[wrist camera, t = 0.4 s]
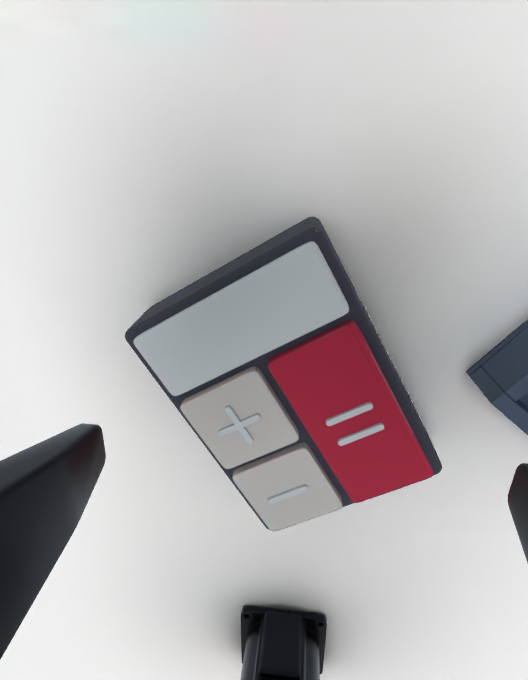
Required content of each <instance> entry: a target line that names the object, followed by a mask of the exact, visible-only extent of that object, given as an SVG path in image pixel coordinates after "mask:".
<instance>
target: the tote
mask: <svg viewBox="0 0 528 680" xmlns="http://www.w3.org/2000/svg"><path fill="white" fill-rule="evenodd" d="M467 374H468V375H469V376H470V377H471V378H472V380H473V381H474V382H475V384H476V385H477V386H478V387H479V389H480V390H481V391H482V392H483V394H484V395H485V396H486V397H487V399H488V400H489V401H490V403H491V404H492V405H494V406H495V407H496V408H497V409H498V410H499V411H501V412H502V413H503V414H504V415H505V416H506V417H508V418H509V419H510V420H511V421H512V422H513V423H515V424H516V425H517V426H518V427H519V428H520V429H521V430H523V431H524V432H525V433H526V434H527V435H528V320H527V321H526V322H525V323H524V324H522V325H521V326H520V327H519V328H518V329H517V330H515V331H514V332H513V333H512V334H511V335H509V336H508V337H507V338H506V339H505V340H504V341H502V342H501V343H500V344H499V345H498V346H496V347H495V348H494V349H493V350H492V351H490V352H489V353H488V354H487V355H486V356H485V357H483V358H482V359H481V360H480V361H479V362H477V363H476V364H475V365H474V366H473V367H472V368H470V369H469V370H468V371H467Z"/></svg>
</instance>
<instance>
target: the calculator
mask: <svg viewBox="0 0 528 680" xmlns="http://www.w3.org/2000/svg"><path fill="white" fill-rule="evenodd" d="M125 338H126V340H127V342H128V343H129V345H130V346H131V347H132V349H133V350H134V351H135V353H136V354H137V355H138V357H139V358H140V359H141V361H142V362H143V363H144V365H145V366H146V368H147V369H148V370H149V372H150V373H151V374H152V376H153V377H154V378H155V380H156V381H157V382H158V384H159V385H160V386H161V388H162V389H163V390H164V392H165V393H166V394H167V396H168V397H169V398H170V400H171V401H172V402H173V404H174V405H175V406H176V408H177V409H178V410H179V412H180V413H181V414H182V416H183V417H184V418H185V420H186V421H187V422H188V424H189V425H190V426H191V428H192V429H193V430H194V432H195V433H196V434H197V436H198V437H199V439H200V440H201V441H202V443H203V444H204V445H205V447H206V448H207V449H208V451H209V452H210V453H211V455H212V456H213V457H214V459H215V460H216V461H217V463H218V464H219V465H220V467H221V468H222V469H223V471H224V472H225V473H226V475H227V476H228V477H229V479H230V480H231V481H232V483H233V484H234V485H235V487H236V488H237V489H238V491H239V492H240V493H241V495H242V496H243V497H244V499H245V500H246V501H247V503H248V504H249V505H250V507H251V508H252V509H253V511H254V512H255V514H256V515H257V516H258V518H259V519H260V520H261V522H262V523H263V524H264V526H265V527H266V528H267V529H269V530H271V531H278V530H281V529H284V528H287V527H290V526H293V525H296V524H298V523H301V522H304V521H307V520H310V519H313V518H316V517H319V516H321V515H324V514H327V513H330V512H333V511H336V510H338V509H340V508H342V507H344V506H346V505H349V504H352V503H358V502H362V501H365V500H367V499H370V498H373V497H376V496H379V495H382V494H385V493H388V492H391V491H393V490H396V489H399V488H402V487H405V486H408V485H411V484H414V483H416V482H419V481H422V480H425V479H428V478H430V477H432V476H433V475H435V474H438V473H439V472H440V471H441V469H442V465H441V462H440V460H439V458H438V455H437V453H436V451H435V449H434V447H433V444H432V442H431V440H430V438H429V436H428V434H427V432H426V430H425V428H424V426H423V424H422V422H421V420H420V418H419V416H418V414H417V412H416V410H415V408H414V406H413V404H412V402H411V400H410V398H409V396H408V394H407V392H406V390H405V388H404V386H403V384H402V382H401V380H400V378H399V376H398V374H397V372H396V370H395V368H394V366H393V364H392V363H391V361H390V359H389V357H388V355H387V353H386V351H385V349H384V347H383V345H382V343H381V341H380V339H379V337H378V335H377V333H376V331H375V329H374V327H373V325H372V323H371V321H370V319H369V317H368V315H367V313H366V311H365V309H364V307H363V305H362V303H361V301H360V299H359V297H358V295H357V293H356V291H355V289H354V287H353V285H352V283H351V281H350V279H349V277H348V275H347V273H346V271H345V269H344V267H343V265H342V263H341V261H340V259H339V257H338V255H337V253H336V251H335V249H334V247H333V245H332V243H331V241H330V239H329V237H328V235H327V233H326V232H325V230H324V228H323V226H322V224H321V222H320V221H319V219H317V218H315V217H309V218H307V219H305V220H303V221H302V222H300V223H298V224H296V225H295V226H293V227H291V228H289V229H287V230H286V231H284V232H282V233H280V234H279V235H277V236H275V237H273V238H272V239H270V240H268V241H266V242H265V243H263V244H261V245H259V246H258V247H256V248H254V249H252V250H250V251H249V252H247V253H245V254H243V255H242V256H240V257H238V258H236V259H235V260H233V261H231V262H229V263H228V264H226V265H224V266H222V267H221V268H219V269H217V270H215V271H213V272H212V273H210V274H208V275H206V276H205V277H203V278H201V279H199V280H198V281H196V282H194V283H192V284H191V285H189V286H187V287H185V288H184V289H182V290H180V291H178V292H176V293H175V294H173V295H171V296H169V297H168V298H166V299H164V300H162V301H161V302H159V303H157V304H155V305H154V306H152V307H150V308H149V309H148V310H147V311H146V312H145V313H144V314H143V315H142V316H141V317H140V318H139V319H138V320H137V321H136V322H135V323H134V324H133V325H132V326H131V327H130V328H129V329H128V330H127V331H126V334H125Z"/></svg>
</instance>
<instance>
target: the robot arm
mask: <svg viewBox="0 0 528 680" xmlns="http://www.w3.org/2000/svg"><path fill="white" fill-rule="evenodd" d="M105 458H106V454H105V447H104V440H103V433H102V429H101V427H100V426H99V425H94V424H79V425H77V426H75V427H73V428H71V429H69V430H66V431H64V432H62V433H60V434H58V435H56V436H53V437H51V438H49V439H47V440H45V441H43V442H40V443H38V444H36V445H34V446H32V447H30V448H27V449H25V450H23V451H21V452H19V453H17V454H14V455H12V456H10V457H8V458H6V459H4V460H1V461H0V659H1V657H2V656H3V654H4V652H5V650H6V649H7V647H8V645H9V644H10V642H11V640H12V638H13V637H14V635H15V633H16V631H17V630H18V628H19V626H20V624H21V623H22V621H23V619H24V617H25V616H26V614H27V612H28V610H29V609H30V607H31V605H32V604H33V602H34V600H35V598H36V597H37V595H38V593H39V591H40V590H41V588H42V586H43V584H44V583H45V581H46V579H47V577H48V576H49V574H50V572H51V570H52V569H53V567H54V565H55V564H56V562H57V560H58V558H59V557H60V555H61V553H62V551H63V550H64V548H65V546H66V544H67V543H68V541H69V539H70V537H71V536H72V534H73V532H74V530H75V528H76V526H77V524H78V522H79V520H80V518H81V516H82V514H83V512H84V509H85V507H86V505H87V503H88V500H89V498H90V496H91V494H92V491H93V489H94V487H95V485H96V482H97V480H98V478H99V476H100V473H101V471H102V469H103V466H104V463H105ZM508 505H509V508H510V511H511V514H512V517H513V520H514V523H515V526H516V529H517V532H518V535H519V538H520V541H521V544H522V547H523V550H524V553H525V556H526V559H527V562H528V464H525V463H522V464H520V465H519V466H518V467H517V469H516V472H515V475H514V478H513V481H512V484H511V487H510V490H509V494H508ZM326 626H327V622H326V617H325V616H323V615H320V614H312V613H303V612H293V611H284V610H275V609H266V608H257V607H243V608H242V612H241V644H242V663H243V666H242V673H241V680H320V674H321V673H322V671H323V660H324V648H325V637H326Z"/></svg>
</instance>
